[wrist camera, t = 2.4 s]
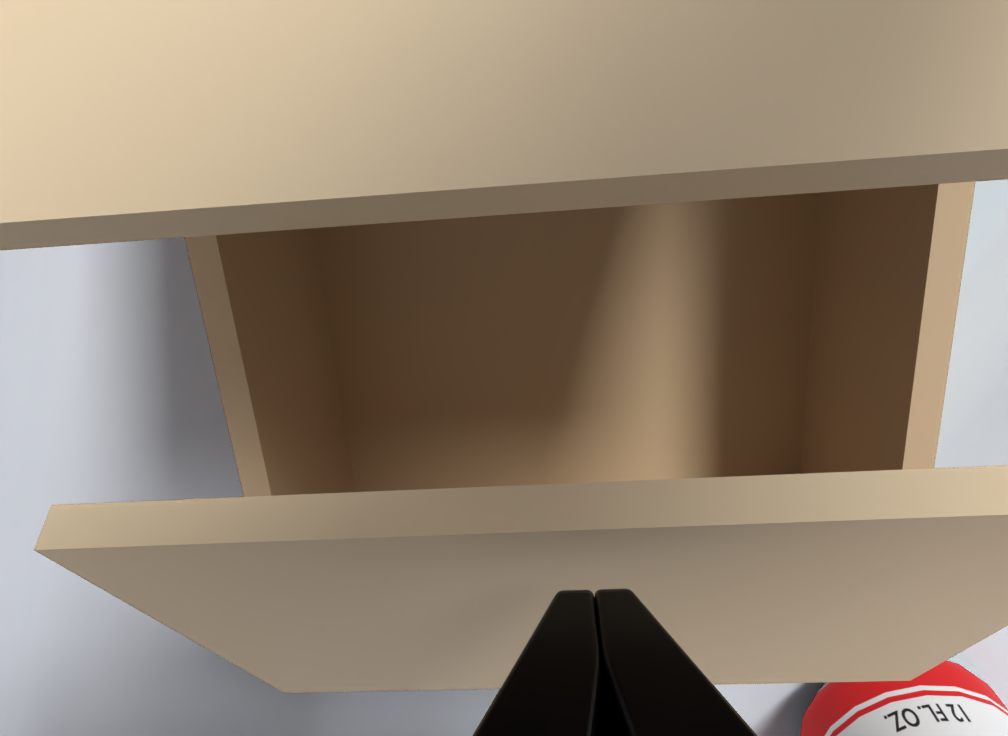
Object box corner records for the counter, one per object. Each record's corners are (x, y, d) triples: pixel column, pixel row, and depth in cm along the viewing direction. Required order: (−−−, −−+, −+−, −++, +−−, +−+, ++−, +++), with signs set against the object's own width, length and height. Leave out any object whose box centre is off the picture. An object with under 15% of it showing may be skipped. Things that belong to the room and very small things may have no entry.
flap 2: (1184, 457, 8) (1215, 506, 8) (900, 650, 15) (910, 680, 15) (51, 505, 9) (33, 550, 9) (288, 664, 16) (283, 692, 16)
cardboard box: (869, -239, 15) (1067, -449, 9) (810, 505, 21) (907, 650, 15) (228, -166, 16) (57, -314, 10) (348, 523, 22) (282, 664, 16)
